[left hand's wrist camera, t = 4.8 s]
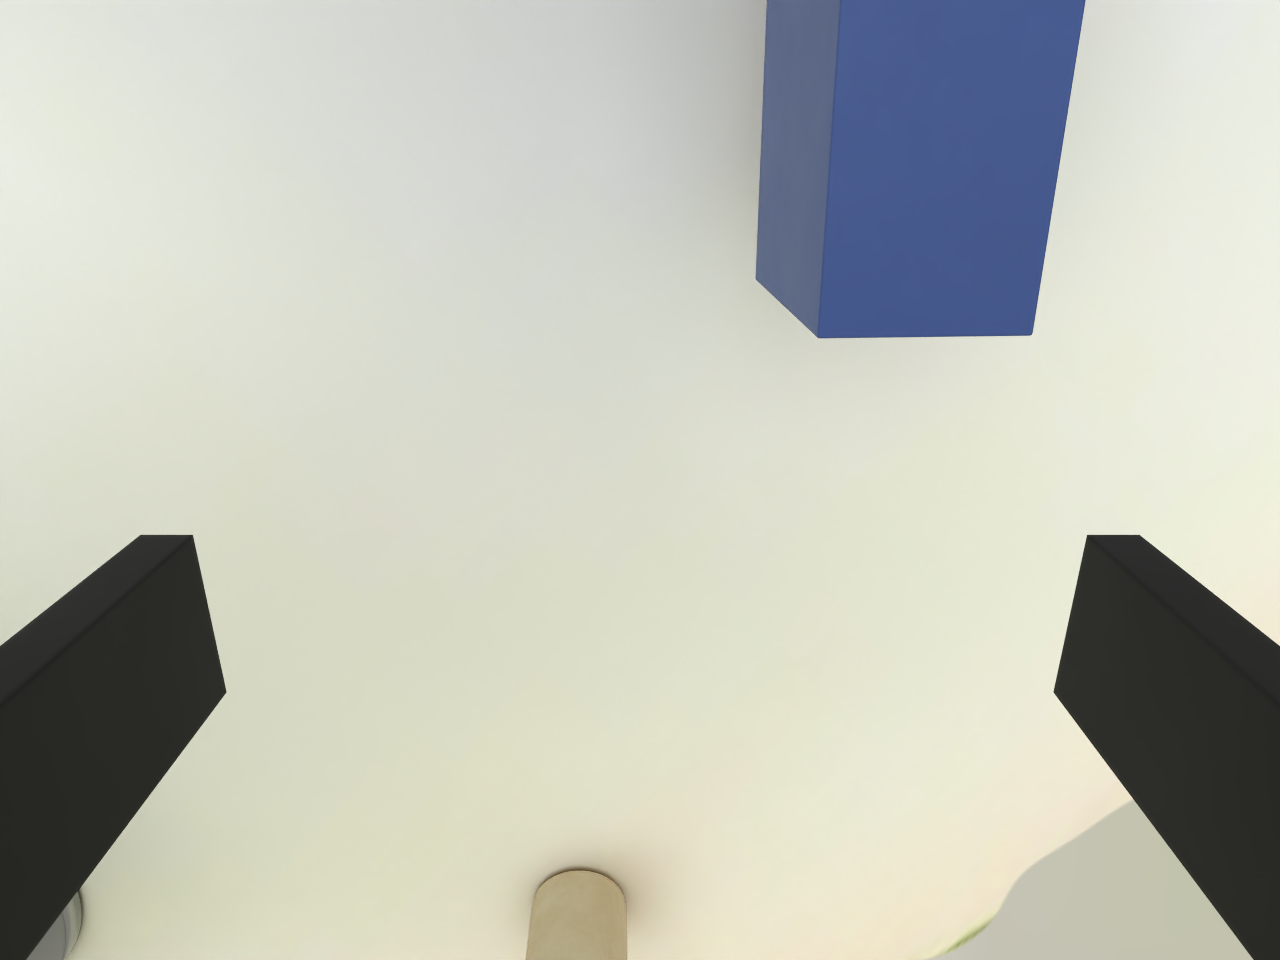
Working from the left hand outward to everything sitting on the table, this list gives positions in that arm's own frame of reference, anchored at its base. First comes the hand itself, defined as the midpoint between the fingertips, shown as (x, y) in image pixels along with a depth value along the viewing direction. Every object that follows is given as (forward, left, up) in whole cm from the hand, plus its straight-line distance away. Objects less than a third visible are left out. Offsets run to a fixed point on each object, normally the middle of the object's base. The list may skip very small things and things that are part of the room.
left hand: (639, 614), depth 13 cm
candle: (-35, +3, -27) cm, 44 cm away
